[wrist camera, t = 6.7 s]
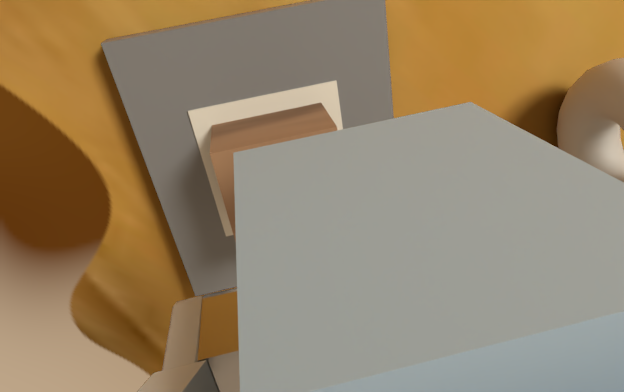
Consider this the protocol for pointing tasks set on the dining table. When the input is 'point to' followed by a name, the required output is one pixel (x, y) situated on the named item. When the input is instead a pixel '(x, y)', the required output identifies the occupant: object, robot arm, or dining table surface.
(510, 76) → the dining table surface
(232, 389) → the robot arm
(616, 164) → the donut
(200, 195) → the plate
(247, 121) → the walnut block
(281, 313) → the blue block
